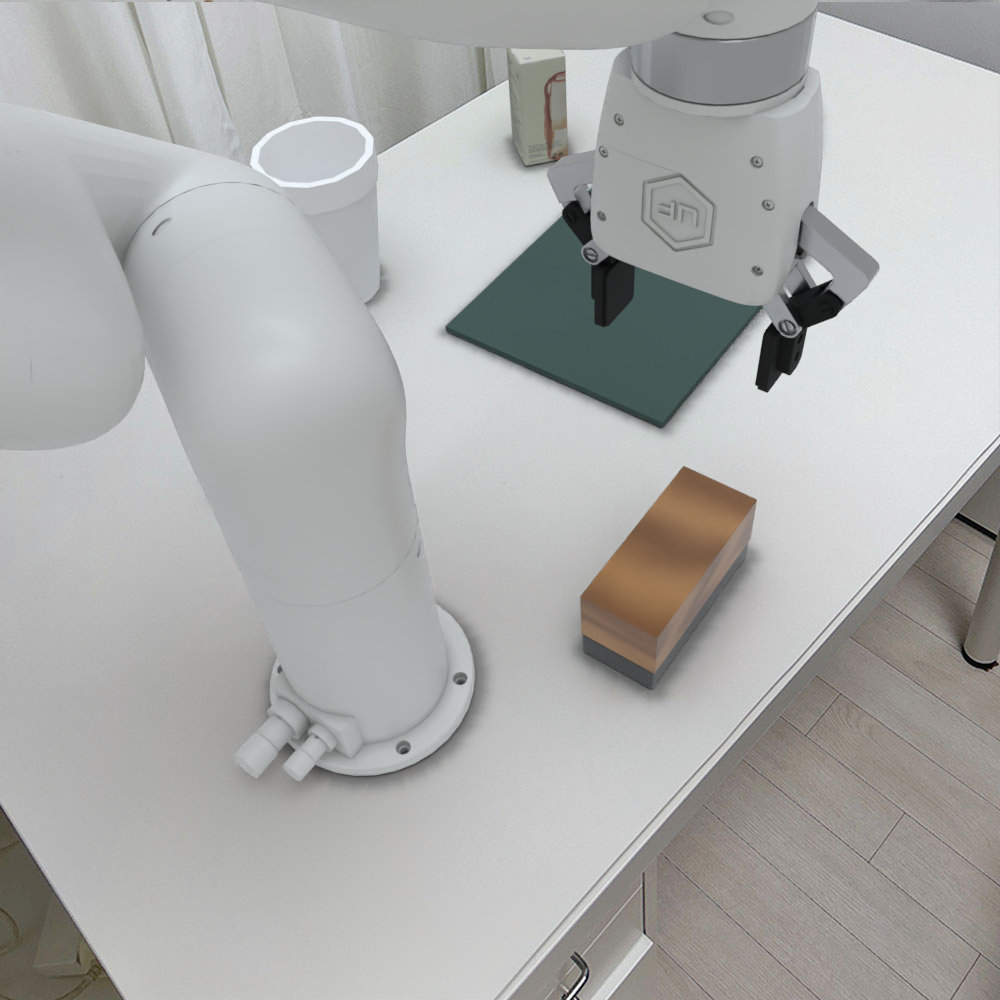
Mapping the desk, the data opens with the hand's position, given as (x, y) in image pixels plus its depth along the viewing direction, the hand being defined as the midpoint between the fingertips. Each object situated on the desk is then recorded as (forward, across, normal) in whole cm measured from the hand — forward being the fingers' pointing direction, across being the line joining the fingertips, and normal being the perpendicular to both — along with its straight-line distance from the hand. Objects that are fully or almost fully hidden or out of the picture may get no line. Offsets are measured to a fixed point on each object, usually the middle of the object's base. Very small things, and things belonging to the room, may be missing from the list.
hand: (691, 342), depth 60 cm
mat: (+18, -16, +21) cm, 32 cm away
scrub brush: (+18, +2, -4) cm, 19 cm away
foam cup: (+18, -37, +10) cm, 42 cm away
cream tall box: (+18, -33, +35) cm, 51 cm away
